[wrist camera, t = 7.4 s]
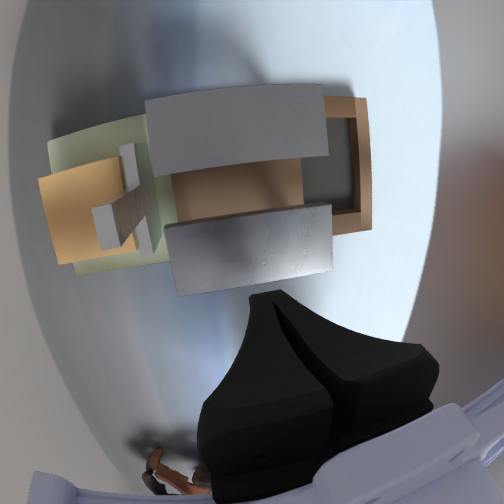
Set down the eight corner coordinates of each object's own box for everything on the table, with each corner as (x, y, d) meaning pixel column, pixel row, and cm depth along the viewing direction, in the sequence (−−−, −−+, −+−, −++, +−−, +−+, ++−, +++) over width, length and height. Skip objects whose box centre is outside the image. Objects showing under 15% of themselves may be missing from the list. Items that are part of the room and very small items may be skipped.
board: (362, 224, 23) (371, 229, 21) (83, 268, 20) (76, 275, 19) (356, 100, 19) (366, 98, 18) (56, 141, 17) (46, 141, 15)
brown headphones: (197, 477, 34) (170, 512, 26) (156, 435, 35) (123, 467, 27) (257, 468, 30) (233, 514, 22) (211, 419, 30) (176, 463, 23)
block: (150, 228, 19) (136, 251, 15) (84, 240, 18) (59, 264, 14) (137, 153, 17) (118, 156, 13) (69, 170, 16) (38, 178, 12)
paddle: (162, 234, 19) (135, 300, 11) (150, 236, 19) (117, 303, 10) (147, 143, 16) (100, 142, 8) (134, 146, 16) (80, 147, 8)
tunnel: (298, 236, 21) (332, 270, 15) (184, 254, 20) (178, 296, 14) (287, 100, 17) (321, 84, 12) (162, 114, 16) (144, 100, 11)
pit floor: (351, 207, 22) (353, 208, 22) (298, 214, 22) (299, 215, 21) (346, 118, 20) (348, 118, 19) (290, 119, 19) (291, 119, 19)
